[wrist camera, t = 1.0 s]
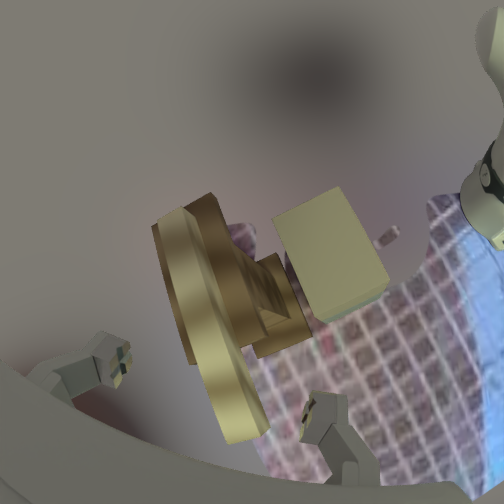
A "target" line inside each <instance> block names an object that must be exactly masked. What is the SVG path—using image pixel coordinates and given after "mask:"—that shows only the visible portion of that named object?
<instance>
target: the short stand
mask: <svg viewBox="0 0 504 504" xmlns="http://www.w3.org/2000/svg"><path fill="white" fill-rule="evenodd" d="M183 208H184V209H186V210H187V211H188V212H189V213H191V214H192V215H193V216H194V217H196V221H197V224H198V227H199V230H200V233H201V236H202V239H203V242H204V245H205V248H206V252H207V255H208V258H209V261H210V264H211V267H212V270H213V273H214V275H215V278H216V281H217V284H218V287H219V290H220V293H221V296H222V299H223V302H224V304H225V307H226V310H227V313H228V316H229V319H230V321H231V324H232V327H233V330H234V333H235V335H236V338H237V341H238V344H239V346H240V348H242V347H244V346H247V345H249V344H252V346H253V348H254V351H255V354H256V356H257V359H259V358H262V357H265V356H267V355H270V354H272V353H275V352H277V351H280V350H282V349H285V348H287V347H290V346H292V345H294V344H297V343H299V342H301V341H304V340H306V339H308V338H311V337H313V335H312V333H311V331H310V328H309V326H308V323H307V321H306V319H305V316H304V314H303V312H302V309H301V307H300V305H299V302H298V300H297V297H296V295H295V293H294V290H293V288H292V286H291V283H290V281H289V279H288V276H287V274H286V272H285V270H284V267H283V265H282V263H281V260H280V258H279V256H278V254H277V253H274V254H272V255H270V256H268V257H266V258H264V259H262V260H259V261H257V262H255V261H254V260H253V259H252V258H250V257H249V256H248V255H247V254H245V253H244V252H243V251H242V250H241V249H239V248H238V247H237V246H236V245H235V244H234V243H233V241H232V238H231V236H230V233H229V230H228V228H227V225H226V222H225V220H224V217H223V214H222V212H221V209H220V206H219V204H218V201H217V198H216V197H215V196H214V195H213V194H212V193H211V192H210V193H208V194H206V195H204V196H203V197H201V198H199V199H197V200H196V201H194V202H192V203H190V204H189V205H187V206H185V207H183ZM151 227H152V232H153V236H154V241H155V245H156V249H157V253H158V258H159V261H160V265H161V270H162V274H163V277H164V281H165V285H166V289H167V293H168V296H169V300H170V303H171V307H172V310H173V314H174V317H175V321H176V324H177V328H178V331H179V334H180V338H181V341H182V344H183V347H184V350H185V353H186V357H187V360H188V362H189V365H196V364H197V361H196V358H195V355H194V352H193V349H192V346H191V343H190V340H189V337H188V333H187V330H186V327H185V324H184V320H183V317H182V314H181V310H180V307H179V304H178V300H177V297H176V293H175V290H174V286H173V282H172V279H171V275H170V271H169V268H168V264H167V260H166V256H165V252H164V248H163V244H162V240H161V236H160V232H159V228H158V223H156V224H155V225H153V226H151Z"/></svg>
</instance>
